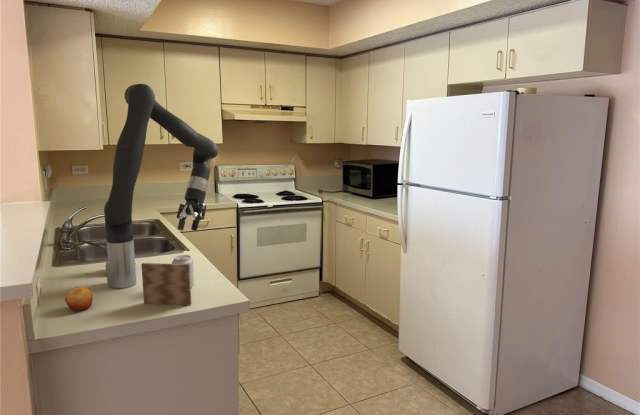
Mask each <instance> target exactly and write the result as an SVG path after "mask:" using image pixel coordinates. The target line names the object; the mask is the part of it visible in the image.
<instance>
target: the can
mask: <svg viewBox="0 0 640 415" xmlns="http://www.w3.org/2000/svg"><path fill="white" fill-rule="evenodd" d="M171 264H189V265H190V286H191V289H192V288H193V287H194V286H195V268H194V266H195V265H194V260H193V259H192V256H191V255H189V254H181V255H175V256H174V257H173V260H172V262H171Z"/></svg>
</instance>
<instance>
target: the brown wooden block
mask: <svg viewBox="0 0 640 415" xmlns="http://www.w3.org/2000/svg"><path fill="white" fill-rule="evenodd" d="M141 276H142V279H141V280H142V291H143V304H145V305H177V306H178V305H180V306H190V305H192V293H191V291H192V288H191V286H190V265H189V264H172V263H160V262H159V263H155V262H154V263H153V262H152V263H151V262H150V263H149V262H142V263H141Z"/></svg>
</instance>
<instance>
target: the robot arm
mask: <svg viewBox="0 0 640 415" xmlns="http://www.w3.org/2000/svg"><path fill="white" fill-rule="evenodd" d="M124 100H125V103H126V104H127V115H126V119H125V123H124V125H123V128H122V130H121V132H120V135H119V137H118V140H117V143H116V147H115V153H114V158H113V163H112V164H113V165H112V166H113V167H112V169H113V170H112V185H111V188H110V189H111V190H110V193H109V197H108V200H107V201H106V202H105V204H104V208H103V211H104V212H103V214H104V226H105V239H106V247H107V249H106V251H107V252H106V253H107V260H108V261H106V262H105V266H106V267H105V270H106V281H107V282H106V284H107V287H109V288H113V289H126V288H130V287H132V286H135V285H136V284H137V272H136V271H137V269H136V268H137V267H136V265H135V263H136V255H135V242H134V241H135V239H134V229H133V227H134V226H133V218H132V217H133V216H132V215H133V197H134V190H135V187H136V183H137V180H138V177H139V173H140V169H141V166H142V161H143V155H144V152H145V144H146V139H147V131H148V124H149V121H150V119H151V120H152V121H154V122H155V123H156V124H158V125H159V126H160V127H162V128H163V129H164V130H165V131H167V133H169V134H170V135H171V136H172V137H174V138H175V139H176V140H177V141H178V142H180V143H181V144H182V145H184V146H185V147H188V148H193V149H194V150H193V152H192V169H191V173H190V177H189V180H188V182H187V185H186V189H185V194H184V200H185V201H186V202H185V204H184V203H180V204H179V207H178V210H177V214H176V218H177V219H178V220H179V221H178V224H177V225H178V226H177V230H178V231H179V230H180V231H184V228H185V225H186V221H187V219H188V218H190V217H191V216H192V217H193V220H192V222H191V229H190V230H191V231H198V228H199V223H200V222H201V221H202V220H204V219H205V217H206V211H207V204H205V200H206V199H205V198H206V195H207V191H208V186H209V179H210V176H211V167H210V166H209V160H212V159H214V158H216V157H218V155H219V148H218V145H217V144H216V143H215V142H214V141H213V140H212V139H210V138H209V137H207V136H205V135H203V134H201V133H199V132H197V131H196V130H195V129H194V128H193V127H191V126H190V125H189V124H188V123H187V122H185V121H184V120H182V119H181V118H180V117H178V116H177V115H175V114H173V113H172V112H170V111H169V110H167V109H166V108H165V107H164V106H162V105H161V104H160V103H159V102H158V101H157V100H156V94H155V91H154V90H153V88H152V87H151V86H149V85H147V84H145V83H135V84H131V85H129V86H128V87H127V88H126V89H125V91H124Z"/></svg>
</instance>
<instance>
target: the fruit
mask: <svg viewBox="0 0 640 415" xmlns="http://www.w3.org/2000/svg"><path fill="white" fill-rule="evenodd" d="M93 297H94V296H93V292H92V291H91V289H90V288H89V287H87V286H80V287H75V288H72V289H71V290H70V291H69V292H68V293H66V295H65V298H64V302H65V304H66V306H67V307H68V308H69V309H70V310H71V311H85V310H88V309H89V308H91V306H92V304H93V301H94V300H93Z"/></svg>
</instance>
